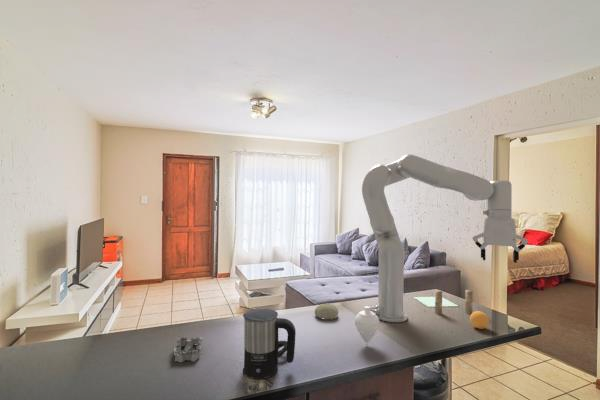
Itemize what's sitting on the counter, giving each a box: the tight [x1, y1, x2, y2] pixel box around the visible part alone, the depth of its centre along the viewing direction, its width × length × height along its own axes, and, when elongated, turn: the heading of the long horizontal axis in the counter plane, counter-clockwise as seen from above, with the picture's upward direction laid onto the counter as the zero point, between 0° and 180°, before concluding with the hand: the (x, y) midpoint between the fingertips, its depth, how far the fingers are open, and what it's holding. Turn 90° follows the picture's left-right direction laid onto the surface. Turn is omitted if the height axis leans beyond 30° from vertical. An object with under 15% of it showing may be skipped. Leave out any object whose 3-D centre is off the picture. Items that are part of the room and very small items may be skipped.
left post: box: [434, 289, 443, 315], centre depth 131 cm, size 3×3×9 cm
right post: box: [464, 289, 474, 315], centre depth 132 cm, size 3×3×9 cm
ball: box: [469, 310, 490, 330], centre depth 115 cm, size 6×6×6 cm
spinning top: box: [354, 305, 381, 346], centre depth 100 cm, size 8×8×12 cm
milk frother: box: [242, 308, 296, 380], centre depth 88 cm, size 14×16×15 cm
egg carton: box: [173, 334, 204, 363], centre depth 93 cm, size 11×8×4 cm
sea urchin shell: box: [314, 303, 339, 320], centre depth 125 cm, size 9×8×8 cm
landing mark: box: [413, 296, 459, 308], centre depth 146 cm, size 14×14×1 cm
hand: (499, 261), depth 117 cm, fingers open, 9 cm apart
